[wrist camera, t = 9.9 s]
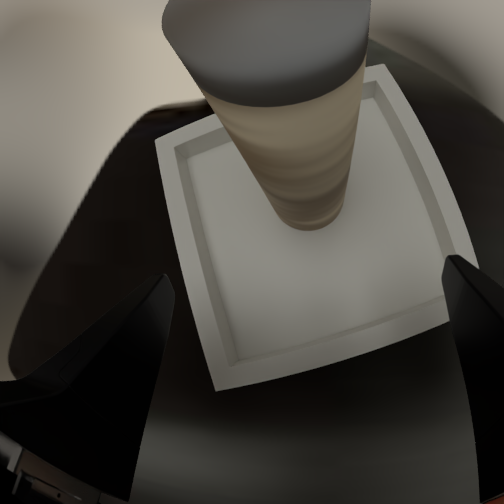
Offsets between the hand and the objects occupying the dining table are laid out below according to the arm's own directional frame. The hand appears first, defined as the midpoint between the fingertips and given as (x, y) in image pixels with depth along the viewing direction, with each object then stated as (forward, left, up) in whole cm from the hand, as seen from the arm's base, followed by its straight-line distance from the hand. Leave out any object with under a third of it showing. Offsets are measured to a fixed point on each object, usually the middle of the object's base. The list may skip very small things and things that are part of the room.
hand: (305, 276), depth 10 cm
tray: (+4, -1, -10) cm, 11 cm away
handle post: (+5, -1, -9) cm, 10 cm away
